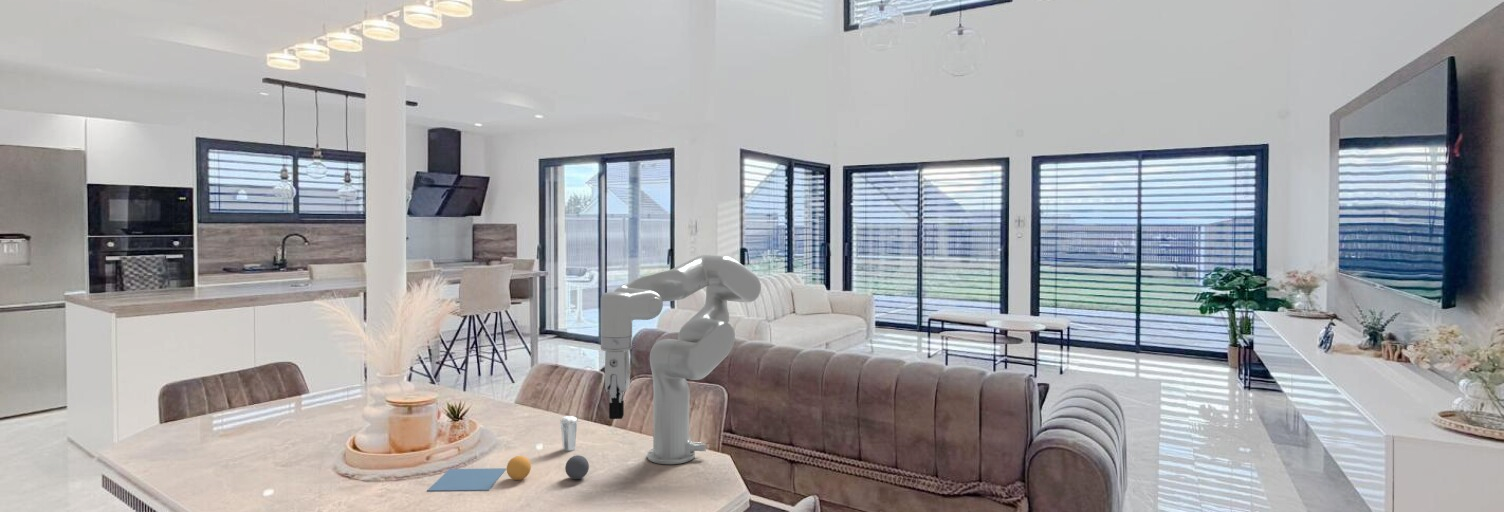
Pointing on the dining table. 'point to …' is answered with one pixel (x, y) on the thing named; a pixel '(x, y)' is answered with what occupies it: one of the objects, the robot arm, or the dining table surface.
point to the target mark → (467, 480)
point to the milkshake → (569, 432)
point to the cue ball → (577, 467)
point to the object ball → (518, 467)
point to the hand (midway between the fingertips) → (616, 417)
